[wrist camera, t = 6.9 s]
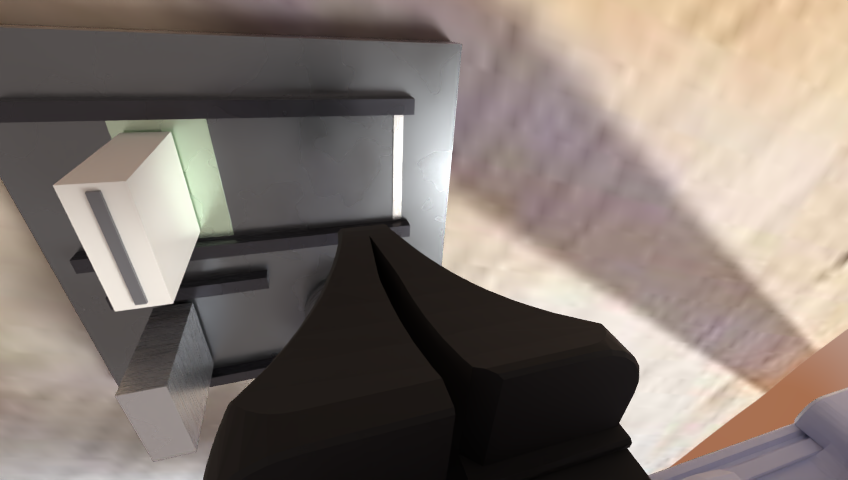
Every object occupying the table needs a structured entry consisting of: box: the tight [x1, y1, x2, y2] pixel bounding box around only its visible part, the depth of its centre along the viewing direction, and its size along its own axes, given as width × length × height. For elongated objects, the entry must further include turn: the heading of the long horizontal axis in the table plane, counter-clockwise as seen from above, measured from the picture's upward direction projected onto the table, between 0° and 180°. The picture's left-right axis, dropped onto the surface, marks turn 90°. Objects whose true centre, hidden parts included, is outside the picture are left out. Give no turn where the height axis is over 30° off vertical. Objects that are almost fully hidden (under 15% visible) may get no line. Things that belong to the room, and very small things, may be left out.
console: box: [0, 24, 462, 462], centre depth 15 cm, size 16×16×6 cm
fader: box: [53, 131, 200, 312], centre depth 12 cm, size 4×2×5 cm, turn 177°
